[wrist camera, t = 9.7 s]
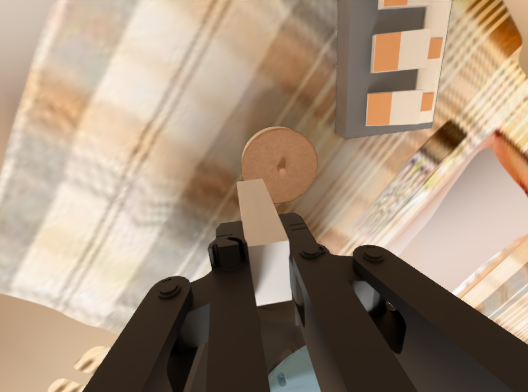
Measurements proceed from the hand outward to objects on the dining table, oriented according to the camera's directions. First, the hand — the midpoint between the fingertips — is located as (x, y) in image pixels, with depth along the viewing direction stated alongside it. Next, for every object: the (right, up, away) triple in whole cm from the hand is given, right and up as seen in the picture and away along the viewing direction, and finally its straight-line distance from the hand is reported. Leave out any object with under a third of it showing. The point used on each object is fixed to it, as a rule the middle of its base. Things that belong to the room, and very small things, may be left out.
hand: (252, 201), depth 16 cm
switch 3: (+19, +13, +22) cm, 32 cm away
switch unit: (+18, +22, +25) cm, 38 cm away
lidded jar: (+2, +7, +29) cm, 29 cm away
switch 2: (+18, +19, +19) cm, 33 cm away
